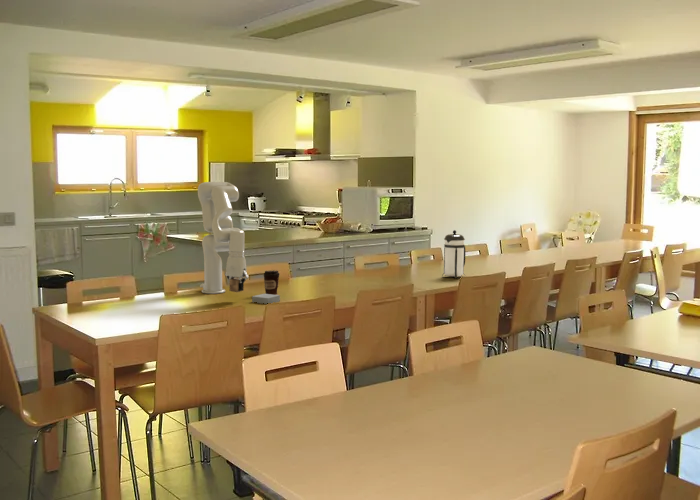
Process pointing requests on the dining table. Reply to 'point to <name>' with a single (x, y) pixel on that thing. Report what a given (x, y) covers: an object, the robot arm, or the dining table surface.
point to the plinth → (266, 298)
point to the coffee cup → (271, 282)
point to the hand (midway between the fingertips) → (236, 289)
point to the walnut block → (235, 285)
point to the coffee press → (454, 255)
